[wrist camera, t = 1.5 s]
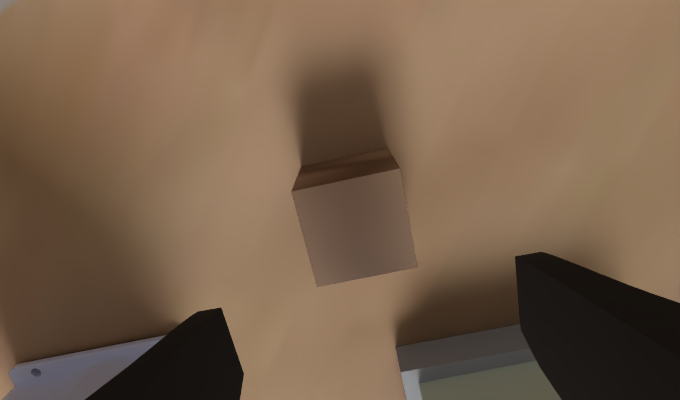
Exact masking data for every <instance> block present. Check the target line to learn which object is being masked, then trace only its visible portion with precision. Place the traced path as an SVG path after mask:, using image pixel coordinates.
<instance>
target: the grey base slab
mask: <svg viewBox="0 0 680 400" xmlns="http://www.w3.org/2000/svg"><path fill="white" fill-rule="evenodd" d="M396 351H397V356H398V361H399V366H400V371H401V375H402V380H403V385H404V389H405V394H406V399H407V400H422V397H421V392H420V388H419V383H424V382H429V381H434V380H439V379H444V378H450V377H455V376H460V375H465V374H470V373H475V372H481V371H486V370H491V369H496V368H501V367H506V366H512V365H517V364H522V363H527V362H532V361H536V359H535V357H534V355H533V353H532V351H531V350H530V347H529V345H528V343H527V341H526V339H525V337H524V335H523V333H522V331H521V328H520V324H517V325H512V326H506V327H501V328H495V329H490V330H485V331H479V332H474V333H469V334H463V335H458V336H453V337H447V338H442V339H437V340H431V341H426V342H420V343H415V344H410V345H404V346H399V347H396Z"/></svg>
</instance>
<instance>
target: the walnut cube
mask: <svg viewBox="0 0 680 400" xmlns="http://www.w3.org/2000/svg"><path fill="white" fill-rule="evenodd" d="M291 192H292V196H293V200H294V203H295V207H296V211H297V214H298V218H299V222H300V226H301V229H302V233H303V237H304V241H305V244H306V248H307V252H308V255H309V259H310V263H311V267H312V270H313V274H314V278H315V281H316V285H317V287H320V286H325V285H330V284H335V283H340V282H345V281H350V280H355V279H360V278H365V277H371V276H376V275H381V274H386V273H391V272H396V271H401V270H406V269H411V268H416V267H418V265H417V260H416V254H415V249H414V243H413V238H412V232H411V226H410V221H409V215H408V210H407V204H406V199H405V193H404V187H403V182H402V176H401V171H400V168H399V166H398V164H397V163H396V161H395V159H394V158H393V156H392V154H391V153H390V151H389V150H388V148H386V149H381V150H377V151H372V152H368V153H363V154H358V155H354V156H349V157H345V158H340V159H335V160H331V161H326V162H322V163H317V164H312V165H308V166H303V167H301V169H300V171H299V174H298V176H297V179H296V181H295V184H294V186H293V189H292V191H291Z"/></svg>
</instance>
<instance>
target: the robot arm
mask: <svg viewBox="0 0 680 400" xmlns="http://www.w3.org/2000/svg"><path fill="white" fill-rule="evenodd" d="M515 262H516V275H517V288H518V301H519V315H520V328H521V331H522V333H523V335H524V337H525V339H526V341H527V343H528V345H529V347H530V350H531V351H532V353H533V355H534V357H535V359H536V361H537V363H538V365H539V367H540V368H541V370H542V371H543V373H544V374H545V376H546V378H547V379H548V380H549V382H550V383H551V385H552V386H553V388H554V389H555V391H556V392H557V394H558V395H559V397H560V398H561V400H680V303H678V302H675V301H672V300H669V299H666V298H663V297H660V296H657V295H654V294H652V293H649V292H646V291H643V290H641V289H638V288H635V287H632V286H630V285H627V284H625V283H622V282H619V281H617V280H614V279H612V278H609V277H607V276H604V275H601V274H599V273H596V272H594V271H591V270H589V269H586V268H584V267H581V266H579V265H576V264H574V263H571V262H569V261H566V260H564V259H561V258H559V257H556V256H553V255H550V254H547V253H544V252H538V253H533V254H527V255H521V256H515ZM38 369H39V370H40V371H39V370H38ZM9 375H10V378H11V380H12V382H13V383H14V385H15V387H14V388H13V389H12V390H11V391H10V392H9V393H8V394H7V395H6V396H5V397H4V398H3V399H2V400H240V395H241V388H242V382H243V376H244V373H243V370H242V367H241V364H240V361H239V358H238V356H237V353H236V350H235V347H234V344H233V341H232V338H231V335H230V332H229V329H228V326H227V323H226V320H225V317H224V314H223V312H222V309H221V308H216V309H210V310H205V311H199V312H197V313H195V314H193V315H192V316H190V317H189V318H188V319H186V320H185V321H184V322H182V323H181V324H180V325H178V326H177V327H176V328H175V329H173V330H172V331H171V332H170V333H168V334H167V335H164V336H159V337H154V338H148V339H143V340H138V341H133V342H128V343H123V344H118V345H113V346H107V347H102V348H97V349H92V350H87V351H82V352H77V353H71V354H66V355H61V356H56V357H51V358H46V359H41V360H35V361H30V362H25V363H20V364H17V365H15V366H14V367H13V368H12V369H11V370H10V372H9Z"/></svg>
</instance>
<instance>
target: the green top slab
mask: <svg viewBox="0 0 680 400" xmlns="http://www.w3.org/2000/svg"><path fill="white" fill-rule="evenodd" d="M419 388H420V392H421V397H422V400H561V398H560V397H559V395H558V394H557V392H556V391H555V389H554V388H553V386H552V385H551V383H550V382H549V380H548V379H547V378H546V376H545V374H544V373H543V371H542V370H541V368H540V367H539V365H538V363H537V361H532V362H527V363H522V364H517V365H512V366H506V367H501V368H496V369H491V370H486V371H481V372H475V373H470V374H465V375H460V376H455V377H450V378H444V379H439V380H434V381H429V382H424V383H419Z"/></svg>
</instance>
